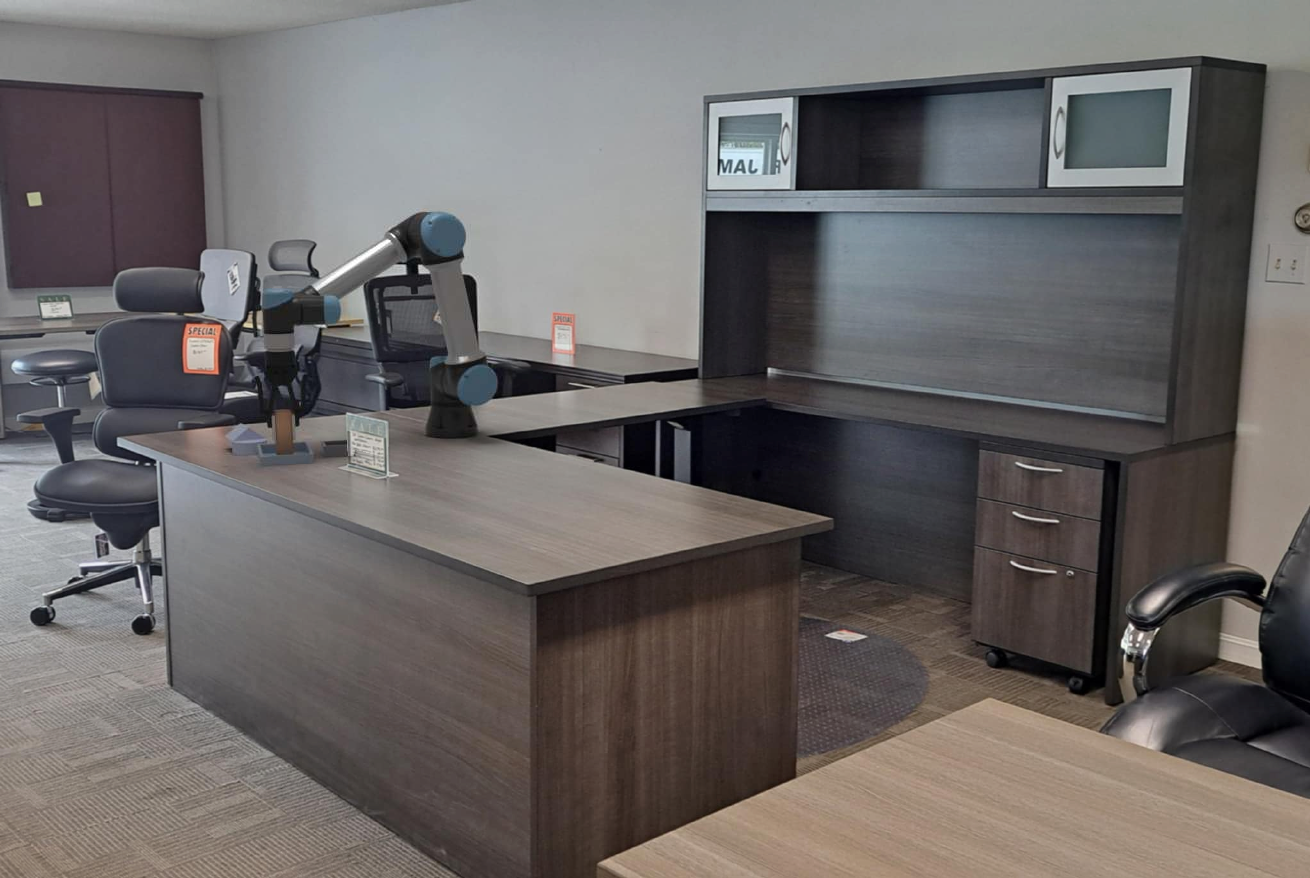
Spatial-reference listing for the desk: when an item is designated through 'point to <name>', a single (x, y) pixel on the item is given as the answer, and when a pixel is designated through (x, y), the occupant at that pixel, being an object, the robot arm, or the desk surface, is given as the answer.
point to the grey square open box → (334, 448)
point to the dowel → (283, 432)
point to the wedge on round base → (245, 440)
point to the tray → (300, 456)
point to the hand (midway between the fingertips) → (284, 439)
